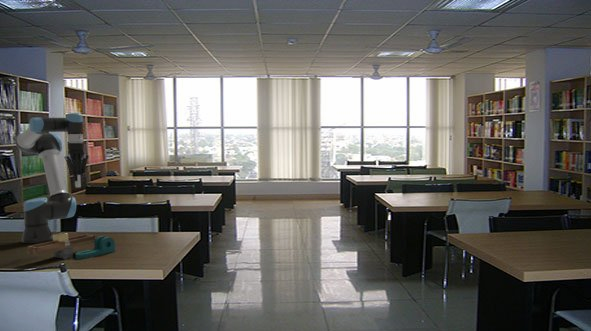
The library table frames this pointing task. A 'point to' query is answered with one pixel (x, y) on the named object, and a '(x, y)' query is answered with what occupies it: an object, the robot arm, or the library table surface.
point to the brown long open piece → (61, 246)
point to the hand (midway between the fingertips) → (78, 187)
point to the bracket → (98, 248)
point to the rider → (60, 237)
